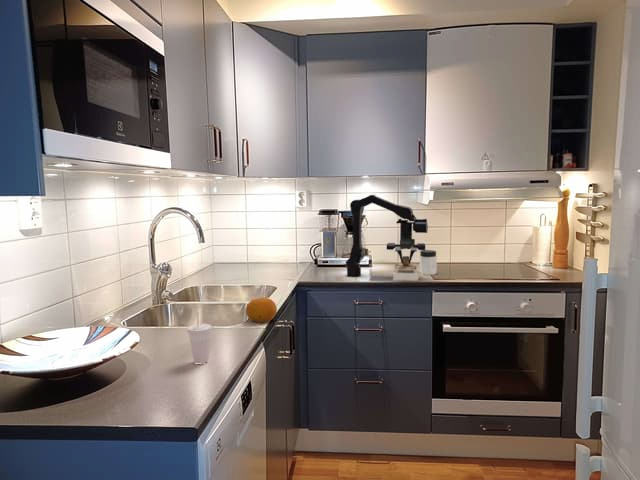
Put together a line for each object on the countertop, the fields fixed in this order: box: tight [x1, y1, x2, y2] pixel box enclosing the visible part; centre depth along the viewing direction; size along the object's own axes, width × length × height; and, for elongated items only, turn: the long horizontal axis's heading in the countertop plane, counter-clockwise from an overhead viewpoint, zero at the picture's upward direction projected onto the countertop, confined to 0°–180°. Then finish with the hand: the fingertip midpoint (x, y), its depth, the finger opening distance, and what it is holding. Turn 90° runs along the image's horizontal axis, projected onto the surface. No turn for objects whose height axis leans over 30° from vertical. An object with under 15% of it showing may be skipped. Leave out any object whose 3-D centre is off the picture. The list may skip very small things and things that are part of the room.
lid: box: [394, 255, 418, 270], centre depth 226 cm, size 10×10×6 cm
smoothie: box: [186, 311, 213, 364], centre depth 121 cm, size 6×6×14 cm
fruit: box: [245, 297, 278, 323], centre depth 159 cm, size 10×10×8 cm
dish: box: [392, 268, 419, 282], centre depth 227 cm, size 12×12×4 cm
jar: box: [419, 249, 438, 276], centre depth 240 cm, size 9×8×12 cm
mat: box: [369, 275, 393, 282], centre depth 228 cm, size 11×11×1 cm
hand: (405, 263), depth 226 cm, fingers closed on lid, 3 cm apart
